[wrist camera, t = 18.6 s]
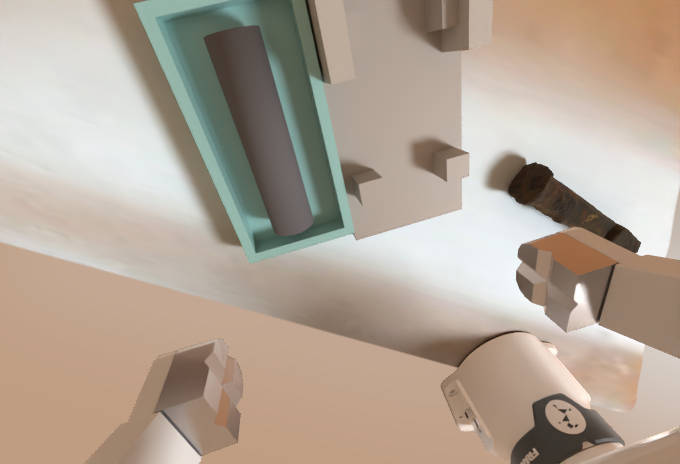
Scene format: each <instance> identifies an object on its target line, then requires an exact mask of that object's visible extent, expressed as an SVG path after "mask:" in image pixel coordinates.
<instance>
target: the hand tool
mask: <svg viewBox="0 0 680 464" xmlns="http://www.w3.org/2000/svg"><path fill="white" fill-rule="evenodd" d="M553 176H554V175H553V173H552V171H551V170H550V169H549V168H548V167H546V166H544V165H542V164H537V163H536V162H535V163H532V164H529V165H525V166H524V167H523V168H522V170H521V171H520V172H519V174H517V176H516V177H515V178H514V180H513V181H512V183H511V185H510V187H509V194H510V196H511V197H514V198H515V200H516V201H517V202H518V203H520V204H523V205H532V206H534V207H535V208H536V209H537V210H540V211H541V212H542V213H543V214H545V215H547V216H549V217H551V218H552V219H553V220H554V221H555V222H558V223H564V224H566V225H568V226H569V227H571V228H572V227H579V228H583V229H586V230H588V231H590V232H592V233H594V234H596V235H598V236H600V237H602V238H604V239H606V240H608V241H610V242H612V243H614V244H616V245H619V246H621V247H623V248H625V249H627V250H629V251H631V252H633V253H637V252H638V249H639V247H640V244H641V242H640V241H638V240H637V238H636V237H635V236H634V235H633V234H632V233H631V232H630V231H629V230H628V229H626V228H625V227H623V226H621V225H619V224H616V223H615V222H614V221H613V220H611V219H610V218H608V217H607V216H605V215H604V214H602V213H601V212H600V211H599V210H597V209H596V208H595V207H594V206H593V205H591V204H590V203H588V202H587V201H586V200H584V199H583V198H582V197H580V196H579V195H577V194H576V193H575V192H573V191H572V190H571V189H569V188H568V187H566V186H565V185H564V184H562V183H561V182H559V181H558V180H556V179H555V178H553Z"/></svg>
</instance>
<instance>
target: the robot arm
mask: <svg viewBox="0 0 680 464" xmlns="http://www.w3.org/2000/svg"><path fill="white" fill-rule="evenodd" d="M518 258H519V259H520V260H521V261H522V263H521V264H520V266H519V267H518V269H517V270H516V281H517V284H518V286H519V289H520V291H521V292H522V293H523V295H524V296H525V297H526V298H527V299H528V300H529V301H531V302H532V303H535V304H538V305H541V306H544V312H545V315H547V316H548V317H549V318H550V319H551V320H552V321H553V322H555V323H556V324H557V325H558V326H559V327H560V328H562V329H563V330H564V331H565V332H566V333H567V332H570V331H573V330H577V329H580V328H583V327H586V326H590V325H593V324H596V323H599V324H598V325H600V326H603V327H605V328H607V329H610V330H612V331H615V332H617V333H619V334H622V335H624V336H627V337H629V338H631V339H634V340H636V341H639V342H641V343H643V344H646V345H648V346H651V347H653V348H655V349H658V350H660V351H663V352H665V353H668V354H670V355H672V356H675V357H677V358H680V260H675V259H669V258H663V257H657V256H652V255H645V256H639V255H637V254H635V253H633V252H631V251H629V250H627V249H625V248H623V247H621V246H619V245H616V244H614V243H612V242H610V241H608V240H606V239H604V238H602V237H600V236H598V235H596V234H594V233H592V232H590V231H588V230H586V229H583V228H579V227H572V228H569V229H566V230H563V231H560V232H557V233H556V234H552V235H549V236H546V237H543V238H539V239H536V240H533V241H530V242H527V243H524V244H521V246H520V248H519V249H518ZM227 353H228V346H227V345H226V343H225V342H224V340H223V339H220V338H218V339H214V340H210V341H207V342H203V343H200V344H196V345H193V346H189V347H186V348H183V349H180V350H177V351H173V352H170V353H166V354H163V355H160V356H158V357H157V358H156V359H155V360H154V361H153V364H152V366H151V369H150V371H149V373H148V375H147V378H146V380H145V382H144V385H143V387H142V389H141V392H140V394H139V397H138V399H137V401H136V404H135V406H134V408H133V411H132V413H131V415H130V418H129V420H128V422H126V423H124V424H121V425H120V426H119V427H118V428H117V429H116V430H115V431H114V432H113V433H112V434H111V435H110V436H109V437H108V438H107V439H106V441H105V442H104V443H103V444H102V445H101V446H100V447H99V448H98V449H97V450H96V451H95V452H94V453H93V454H92V455H91V456H90V458H89V459H88V460H87V461H86V462H85V463H84V464H199V463H200V461H201V459H202V458H201V456H203V455H205V454H208V453H211V452H214V451H216V450H219V449H222V448H224V447H227V446H230V445H233V444H236V443H238V435H239V425H240V415H241V414H240V413H239V411H238V409H237V408H236V405H237V404H238V402H239V401H240V399H241V398H242V394H243V380H242V373H241V370H240V367H239V365H238V363H237V362H236V360H235V359H234V358H231V357H229V356H227ZM556 354H557V349H556V348H555V347H554V346H553V344H551V343H545V342H541V341H540V340H539V339H538V338H537V337H535V336H534V335H532V334H529V333H523V332H517V333H510V334H506V335H502V336H499V337H497V338H494V339H492V340H490V341H488V342H486V343H485V344H483V345H481V346H480V347H478V348H477V349H476V350H474V351H473V352H472V353H471V354H470V355H469V356H468V357H467V358H466V359H465V360H464V361H463V362H462V364H461V365H460V366H459V368H458V369H457V370H456V371H455V372H454V373H453V374H451V375H450V376H449V377H448V378H446V379H445V380H444V381H443V382H442V383H441V389H442V391H443V393H444V396H445V398H446V401H447V403H448V405H449V407H450V410H451V412H452V415H453V417H454V419H455V422H456V424H457V426H458V427H459V429H460V430H461V431H473V430H475V431H476V433H477V434H478V436H479V438H480V439H481V441H482V443H483V444H484V446H485V448H486V449H487V451H488V452H489V453H491V454H493V455H496V456H498V457H500V458H502V459H504V460H507V461H508V462H510V463H511V464H680V426H678V427H675V428H672V429H670V430H667V431H664V432H661V433H659V434H656V435H653V436H651V437H648V438H645V439H642V440H640V441H637V442H634V443H632V444H629V445H626V446H625V443H624V441H623V440H622V438H621V437H620V436H619V435H618V434H617V433H616V431H615V430H614V428H613V427H612V426H611V425H610V424H609V423H608V422H606V421H605V420H604V419H603V418H602V417H601V416H600V415H599V414H598V413H597V412H596V411H594V410H592V409H590V396H589V395H588V393H587V392H586V391H585V390H584V389H583V387H582V386H581V385H580V384H579V383H578V382H577V380H576V379H575V378H574V377H573V376H572V375H571V373H570V372H569V371H568V370H567V369H566V368H565V367H564V365H563V364H562V363H561V362H560V361H559V360H558V359H557V357H556Z"/></svg>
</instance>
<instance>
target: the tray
mask: <svg viewBox="0 0 680 464" xmlns="http://www.w3.org/2000/svg"><path fill="white" fill-rule="evenodd" d="M133 4H134V7H135V9H136V11H137V13H138V15H139V18H140V20H141V22H142V24H143V27H144V29H145V31H146V33H147V35H148V38H149V40H150V42H151V44H152V47H153V49H154V51H155V53H156V55H157V58H158V60H159V62H160V64H161V67H162V69H163V71H164V73H165V76H166V78H167V80H168V82H169V84H170V87H171V89H172V91H173V93H174V96H175V98H176V100H177V102H178V104H179V107H180V109H181V111H182V113H183V116H184V118H185V120H186V122H187V125H188V127H189V129H190V131H191V133H192V136H193V138H194V140H195V142H196V145H197V147H198V149H199V151H200V153H201V156H202V158H203V160H204V162H205V165H206V167H207V169H208V171H209V174H210V176H211V178H212V180H213V182H214V185H215V187H216V189H217V191H218V194H219V196H220V198H221V200H222V202H223V205H224V207H225V209H226V211H227V214H228V216H229V218H230V220H231V222H232V225H233V227H234V229H235V231H236V234H237V236H238V238H239V240H240V243H241V245H242V247H243V249H244V251H245V254H246V256H247V258H248V260H249V263H250V264H251V263H254V262H258V261H261V260H264V259H268V258H271V257H275V256H278V255H281V254H285V253H288V252H291V251H295V250H298V249H302V248H305V247H308V246H312V245H315V244H319V243H322V242H325V241H329V240H332V239H336V238H339V237H342V236H346V235H349V234H353V233H355V231H354V226H353V222H352V217H351V212H350V208H349V203H348V198H347V194H346V189H345V184H344V180H343V175H342V170H341V166H340V161H339V156H338V152H337V147H336V142H335V138H334V133H333V128H332V124H331V119H330V115H329V110H328V105H327V101H326V96H325V91H324V87H323V82H322V77H321V73H320V68H319V63H318V59H317V54H316V49H315V45H314V40H313V35H312V31H311V26H310V21H309V17H308V12H307V7H306V3H305V0H147V1H142V2H138V3H133ZM251 25H258V26H259V27H260V31H261V34H262V38H263V41H264V45H265V48H266V52H267V56H268V59H269V63H270V66H271V70H272V73H273V77H274V80H275V84H276V88H277V91H278V95H279V98H280V102H281V105H282V109H283V112H284V116H285V119H286V123H287V127H288V130H289V134H290V137H291V141H292V144H293V148H294V151H295V155H296V159H297V162H298V166H299V169H300V173H301V176H302V180H303V183H304V187H305V191H306V194H307V198H308V201H309V205H310V208H311V212H312V215H313V219H314V222H313V224H312V226H311V227H309V228H308V229H307V230H305V231H303V232H301V233H299V234H296V235H291V236H279V235H277V234H275V233H274V230H273V227H272V225H271V222H270V219H269V216H268V214H267V211H266V208H265V206H264V203H263V200H262V197H261V195H260V192H259V189H258V186H257V184H256V181H255V178H254V176H253V173H252V170H251V167H250V165H249V162H248V159H247V156H246V154H245V151H244V148H243V145H242V143H241V140H240V137H239V135H238V132H237V129H236V126H235V124H234V121H233V118H232V115H231V113H230V110H229V107H228V104H227V102H226V99H225V96H224V94H223V91H222V88H221V85H220V83H219V80H218V77H217V74H216V72H215V69H214V66H213V63H212V61H211V58H210V55H209V53H208V50H207V47H206V44H205V42H204V39H203V38H204V37H205V36H207V35H210V34H212V33H216V32H219V31H223V30H227V29H232V28H237V27H243V26H251Z"/></svg>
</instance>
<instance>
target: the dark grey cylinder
mask: <svg viewBox="0 0 680 464" xmlns="http://www.w3.org/2000/svg"><path fill="white" fill-rule="evenodd" d="M203 39H204V42H205V44H206V47H207V50H208V53H209V55H210V58H211V61H212V63H213V66H214V69H215V72H216V74H217V77H218V80H219V83H220V85H221V88H222V91H223V94H224V96H225V99H226V102H227V104H228V107H229V110H230V113H231V115H232V118H233V121H234V124H235V126H236V129H237V132H238V135H239V137H240V140H241V143H242V145H243V148H244V151H245V154H246V156H247V159H248V162H249V165H250V167H251V170H252V173H253V176H254V178H255V181H256V184H257V186H258V189H259V192H260V195H261V197H262V200H263V203H264V206H265V208H266V211H267V214H268V216H269V219H270V222H271V225H272V227H273V230H274V233H275V234H277V235H279V236H291V235H296V234H299V233H301V232H303V231H305V230H307V229H308V228H309V227H311V226H312V224H313V222H314V219H313V215H312V212H311V208H310V205H309V201H308V198H307V194H306V191H305V187H304V183H303V180H302V176H301V173H300V169H299V166H298V162H297V159H296V155H295V151H294V148H293V144H292V141H291V137H290V134H289V130H288V127H287V123H286V119H285V116H284V112H283V109H282V105H281V102H280V98H279V95H278V91H277V88H276V84H275V80H274V77H273V73H272V70H271V66H270V63H269V59H268V56H267V52H266V48H265V45H264V41H263V38H262V34H261V31H260V27H259V26H258V25H251V26H243V27H237V28H232V29H227V30H223V31H219V32H216V33H212V34H210V35H207V36H205V37H204V38H203Z"/></svg>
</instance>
